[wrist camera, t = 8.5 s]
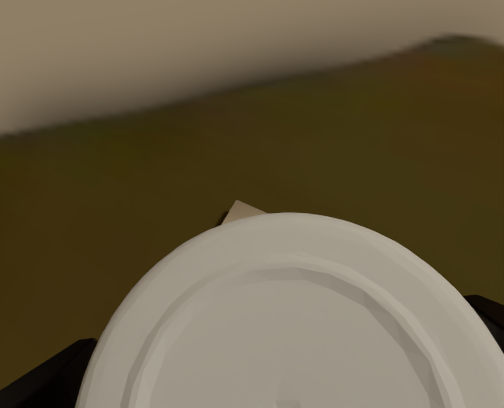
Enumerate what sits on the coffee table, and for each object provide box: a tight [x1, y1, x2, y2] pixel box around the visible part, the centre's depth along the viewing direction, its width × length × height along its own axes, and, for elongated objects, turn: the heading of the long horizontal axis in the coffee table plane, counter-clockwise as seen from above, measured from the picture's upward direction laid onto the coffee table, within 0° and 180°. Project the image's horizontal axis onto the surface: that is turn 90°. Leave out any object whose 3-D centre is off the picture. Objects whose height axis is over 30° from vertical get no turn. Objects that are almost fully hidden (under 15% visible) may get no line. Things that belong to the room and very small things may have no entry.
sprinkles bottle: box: [75, 213, 504, 408], centre depth 9 cm, size 5×5×14 cm
